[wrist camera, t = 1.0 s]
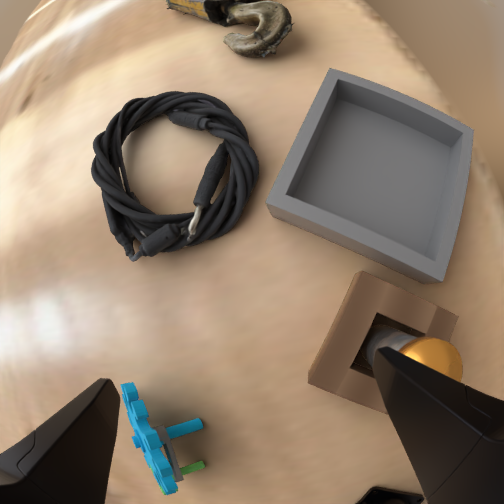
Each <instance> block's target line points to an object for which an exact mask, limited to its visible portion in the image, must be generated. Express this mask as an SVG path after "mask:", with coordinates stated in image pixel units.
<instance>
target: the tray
mask: <svg viewBox="0 0 504 504" xmlns="http://www.w3.org/2000/svg"><path fill="white" fill-rule="evenodd" d="M473 133H474V130H473V129H471V128H470V127H468V126H466V125H465V124H463V123H461V122H459V121H458V120H456V119H454V118H452V117H450V116H448V115H447V114H445V113H443V112H441V111H439V110H437V109H435V108H433V107H431V106H429V105H427V104H425V103H422V102H420V101H418V100H416V99H414V98H412V97H409V96H407V95H405V94H402V93H400V92H398V91H395V90H393V89H390V88H388V87H385V86H383V85H380V84H377V83H375V82H372V81H369V80H366V79H363V78H360V77H358V76H355V75H351V74H348V73H345V72H342V71H339V70H335V69H332V68H329V70H328V72H327V74H326V77H325V79H324V81H323V83H322V85H321V87H320V89H319V91H318V93H317V95H316V97H315V99H314V101H313V103H312V105H311V107H310V110H309V112H308V114H307V116H306V118H305V120H304V122H303V124H302V126H301V128H300V130H299V132H298V134H297V137H296V139H295V141H294V143H293V145H292V147H291V149H290V151H289V153H288V155H287V157H286V160H285V162H284V164H283V166H282V168H281V170H280V172H279V174H278V176H277V179H276V181H275V183H274V185H273V187H272V189H271V191H270V193H269V195H268V198H267V200H266V202H265V203H266V205H267V207H268V209H269V211H270V213H271V215H272V216H273V217H275V218H278V219H280V220H282V221H285V222H287V223H290V224H292V225H294V226H297V227H299V228H301V229H304V230H306V231H308V232H311V233H313V234H315V235H318V236H320V237H322V238H325V239H327V240H329V241H332V242H334V243H336V244H338V245H341V246H343V247H345V248H347V249H350V250H352V251H354V252H356V253H358V254H361V255H363V256H365V257H367V258H369V259H372V260H374V261H376V262H378V263H380V264H382V265H385V266H387V267H389V268H391V269H393V270H395V271H397V272H400V273H402V274H404V275H406V276H408V277H410V278H412V279H414V280H416V281H418V282H420V283H422V284H430V283H438V282H443V279H444V276H445V273H446V270H447V267H448V263H449V260H450V257H451V253H452V250H453V246H454V243H455V239H456V235H457V231H458V227H459V223H460V218H461V214H462V209H463V204H464V199H465V194H466V189H467V183H468V176H469V170H470V162H471V154H472V145H473Z"/></svg>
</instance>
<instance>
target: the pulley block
mask: <svg viewBox="0 0 504 504" xmlns="http://www.w3.org/2000/svg"><path fill="white" fill-rule="evenodd" d="M166 2H167V5H168V7H169V8H167V9H172V10H178V11H181V12H184V13H185V14H186V13H187V14H191V15H194V16H197V17H200V18H203V19H206V20H208V21H210V22H213V23H217V24H220V25H223V26H224V27H226V26H228V25H232V24H238V23H244V24H248V25H252V26H258V27H257V29H256V30H255V31H254V32H253V33H252V34H251V35H247V36H244V35H241V34H234V33H230V34H228V35H227V36H225V37H224V39H223V42H224V43H225V44H227V45H228V46H229V47H230V48H231V49H232V50H233V51H234V52H235V53H237V54H239V55H242V56H246V57H257V56H262V57H265V55H266V54H268V53H272V54H276V47H277V46H278V45H279V44H280V43H281V42H282V41H283V39H284V38H285V37H286V36H287V35H288V33H289V32H290V31H292V25H293V24H294V23H293V24H291V15H290V13H289V11H288V9H287V8H285V7H284V6H283V5H282V4H280V3H278V2H273V1H261V2H260V0H166ZM183 15H184V14H183Z"/></svg>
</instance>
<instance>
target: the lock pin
mask: <svg viewBox="0 0 504 504" xmlns="http://www.w3.org/2000/svg"><path fill="white" fill-rule="evenodd" d="M384 346H388V347H391V348H393V349H394V350H396V351H398V352H400V353H402V354H404V355H406V356H408V357H410V358H412V359H414V360H416V361H418V362H420V363H422V364H424V365H426V366H428V367H430V368H432V369H434V370H436V371H438V372H440V373H442V374H444V375H446V376H448V377H450V378H452V379H455V380H457V381H459V382H461V378H462V360H461V357H460V354H459V352H458V351H457V349H456V348H455V347H454V346H453V345H452V344H450V343H448V342H447V341H444V340H441V339H438V338H435V337H419V338H417V337H414V336H412V335H409V334H407V333H404V332H402V331H399V330H397V329H394V328H392V327H389V326H387V325H375V326H373V327H371V328H369V330H368V332H367V334H366V337H365V339H364V341H363V343H362V345H361V347H360V350H361V353H362V355H363V357H364V358H365V359H366V361H367V362H368V363H369V364H370V365H371V367H372V368H373V361H374V355H375V351H376V349H377V348H381V347H384Z"/></svg>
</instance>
